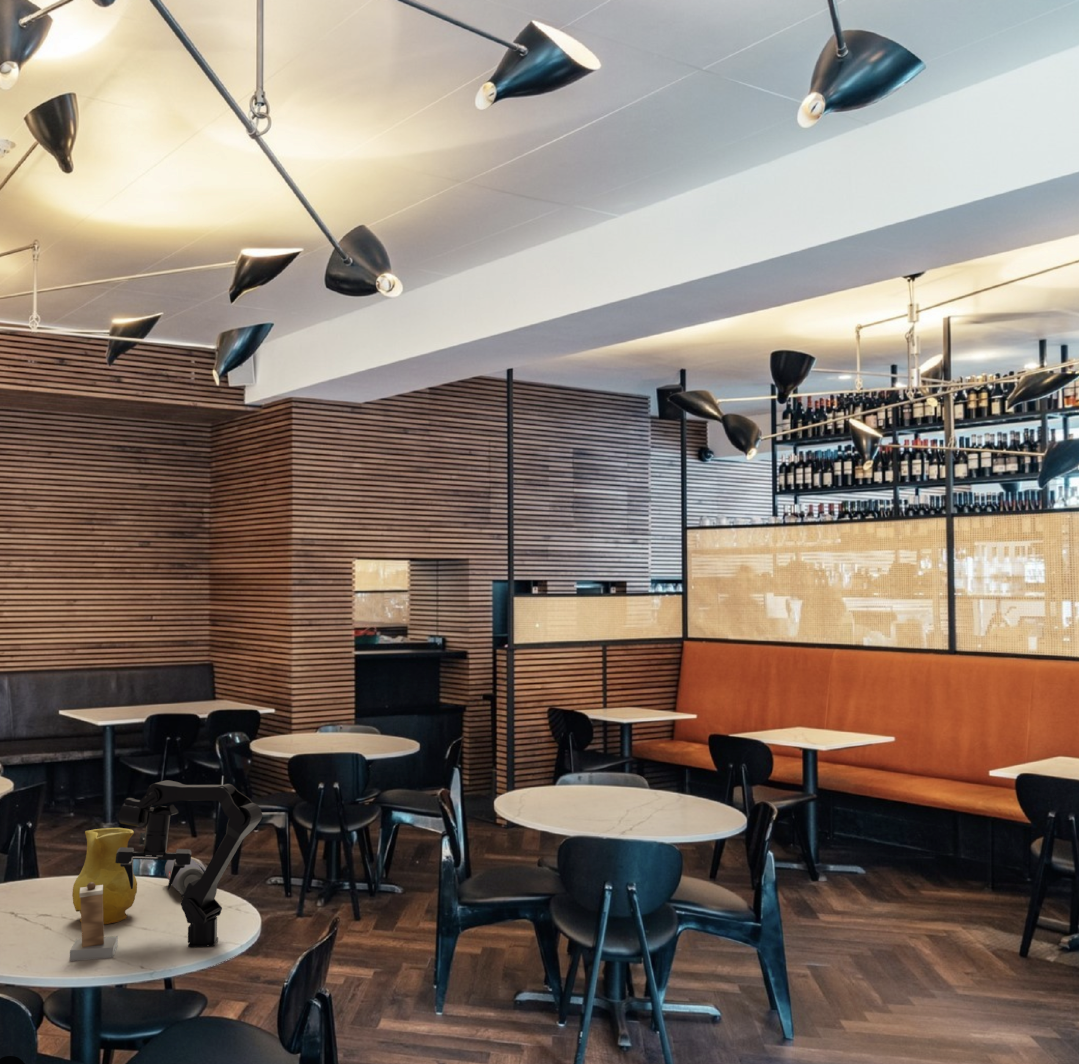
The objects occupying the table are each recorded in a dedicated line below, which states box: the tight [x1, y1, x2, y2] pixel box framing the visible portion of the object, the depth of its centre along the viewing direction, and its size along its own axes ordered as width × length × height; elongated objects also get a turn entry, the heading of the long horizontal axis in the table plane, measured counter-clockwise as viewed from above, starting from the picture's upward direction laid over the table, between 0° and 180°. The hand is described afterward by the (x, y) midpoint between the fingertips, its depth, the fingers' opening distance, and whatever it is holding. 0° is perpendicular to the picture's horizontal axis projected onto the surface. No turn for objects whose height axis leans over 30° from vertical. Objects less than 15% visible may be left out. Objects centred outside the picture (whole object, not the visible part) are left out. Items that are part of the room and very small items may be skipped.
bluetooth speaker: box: [164, 858, 205, 896], centre depth 339 cm, size 23×9×10 cm, turn 28°
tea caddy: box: [79, 882, 105, 947], centre depth 279 cm, size 5×5×15 cm
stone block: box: [69, 935, 119, 962], centre depth 279 cm, size 10×10×3 cm
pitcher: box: [71, 827, 138, 925], centre depth 311 cm, size 17×18×25 cm
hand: (150, 888), depth 291 cm, fingers open, 9 cm apart
